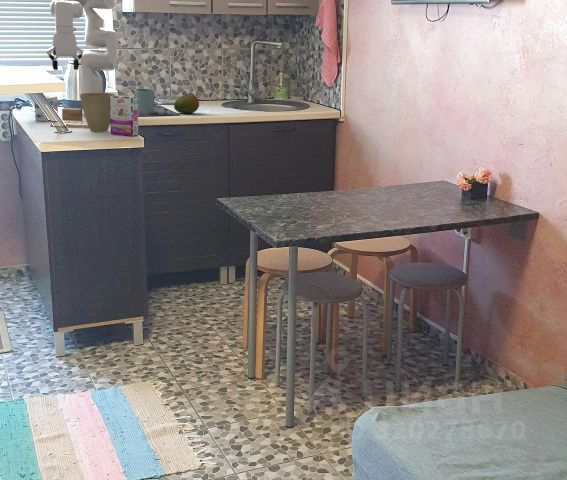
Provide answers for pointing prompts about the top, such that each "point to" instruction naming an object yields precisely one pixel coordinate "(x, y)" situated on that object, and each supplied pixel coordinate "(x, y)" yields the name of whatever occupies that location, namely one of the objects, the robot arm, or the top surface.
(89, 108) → the plant pot
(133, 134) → the candy bar box
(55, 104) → the light bulb box
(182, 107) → the fruit
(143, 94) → the blue-green cup
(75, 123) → the board
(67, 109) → the sanding block
